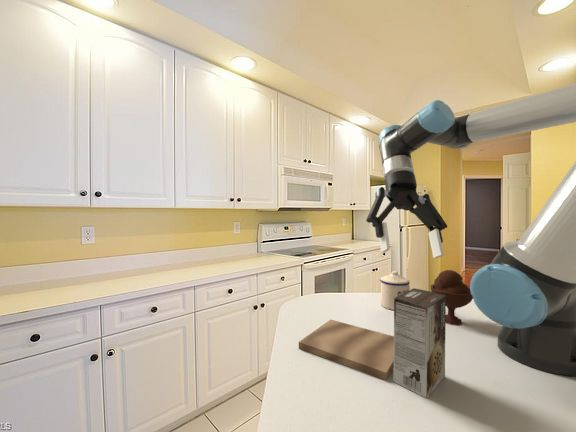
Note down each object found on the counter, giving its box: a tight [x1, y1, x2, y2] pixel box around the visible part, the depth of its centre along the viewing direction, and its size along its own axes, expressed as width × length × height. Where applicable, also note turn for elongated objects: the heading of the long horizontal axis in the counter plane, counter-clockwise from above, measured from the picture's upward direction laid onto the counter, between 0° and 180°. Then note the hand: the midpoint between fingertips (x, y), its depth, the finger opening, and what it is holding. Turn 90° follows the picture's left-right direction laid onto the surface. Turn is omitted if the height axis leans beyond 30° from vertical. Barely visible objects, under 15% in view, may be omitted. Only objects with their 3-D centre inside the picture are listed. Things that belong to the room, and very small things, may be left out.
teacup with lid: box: [379, 270, 411, 311], centre depth 92 cm, size 12×9×12 cm
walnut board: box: [298, 319, 394, 381], centre depth 64 cm, size 20×16×2 cm
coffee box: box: [392, 288, 447, 399], centre depth 52 cm, size 9×6×16 cm
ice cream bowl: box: [430, 269, 474, 326], centre depth 79 cm, size 11×11×15 cm
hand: (412, 253), depth 63 cm, fingers open, 13 cm apart
